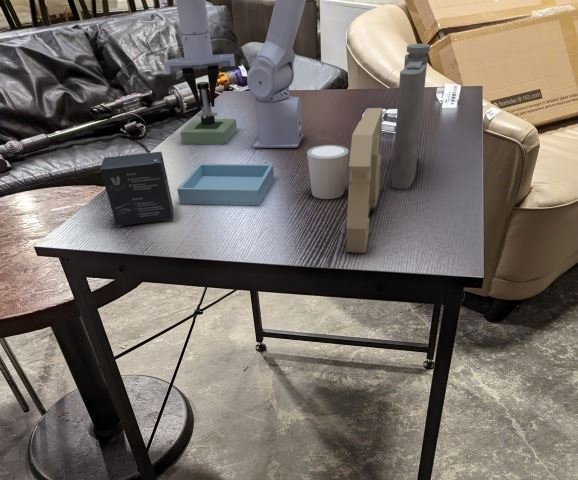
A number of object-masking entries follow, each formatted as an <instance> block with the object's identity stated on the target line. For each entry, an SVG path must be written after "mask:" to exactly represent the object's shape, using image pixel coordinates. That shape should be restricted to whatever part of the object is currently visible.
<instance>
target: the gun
mask: <svg viewBox="0 0 578 480" xmlns="http://www.w3.org/2000/svg"><path fill="white" fill-rule="evenodd" d="M382 121H383V107H367V108H366V109H365V112H364V114H363V116H362V117H361V118H360V121H358V123H357V125H356V127H355V129H354V130H353V132H352V134H351V143H350V151H349V162H348V172H349V179H348V182H349V183H350V184H349V185H348V195H347V209H346V210H347V211H346V212H347V213H346V253H362V254H364V253H366V252H367V247H368V246H367V245H368V239H369V234H370V233H369V232H370V217H369V214H370V211H374V210H375V209H376V207H377V203H378V200H379V194H380V189H381V169H382V155H381V154H380V146H381V145H380V144H381V136H382Z"/></svg>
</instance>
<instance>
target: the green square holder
mask: <svg viewBox="0 0 578 480" xmlns="http://www.w3.org/2000/svg"><path fill="white" fill-rule="evenodd" d="M237 131H238V127H237V119H236V118H215V123H214V124H212V125H202V122H201V118H194V119H193V120H192V121H191V122H189V124H188V125H187V126H185V127H184V128H183V129H181V131H180V138H181V144H182V145H226V144H227V143H228V142H229V140H230V139H231V138H233V136H234V135H235V134H236V133H237Z"/></svg>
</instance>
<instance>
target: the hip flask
mask: <svg viewBox="0 0 578 480" xmlns="http://www.w3.org/2000/svg"><path fill="white" fill-rule="evenodd" d="M429 52H431V45H430V44H428V43H412V44H408V45H407V46H406V53H407V54H405V55H404V65H403V66H404V67H403V69H401V71H399V72H400V73H399V82H398V95H397V96H398V97H397V109H396V122H395V135H394V148H393V162H392V174H391V176H392V177H391V187H392V188H393V189H396V190H406V189H409V188H410V187H411V186H412V184H413V183H414V181H415V179H416V178H415V177H416V173H417V163H418V154H419V144H420V135H421V126H422V125H421V124H422V118H423V117H422V116H423V106H424V97H425V88H426V80H427V79H426V78H427V68H428V60H429V59H428V58H429V54H428V53H429Z"/></svg>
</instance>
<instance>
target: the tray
mask: <svg viewBox="0 0 578 480" xmlns="http://www.w3.org/2000/svg"><path fill="white" fill-rule="evenodd" d="M274 179H275V172H274V164H258V163H257V164H253V163H252V164H250V163H249V164H247V163H246V164H245V163H244V164H243V163H242V164H240V163H199V164H198V165H197V166H196V167H195V168H194V169H193V171H192V172H191V173H190V174H189V175H188V176H187V177H186V178H185V179H184V181H183V182H182V183H181V184H180V185H179V186H178V187H177V188H176V190H177V196H178V200H179V204H181V205H219V206H221V205H222V206H223V205H224V206H225V205H226V206H230V205H231V206H260V205H261V204H262V201H263V199H264V198H265V196H266V195H267V193H268V191H269V189H270V187H271V186H272V183H273V182H274Z"/></svg>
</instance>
